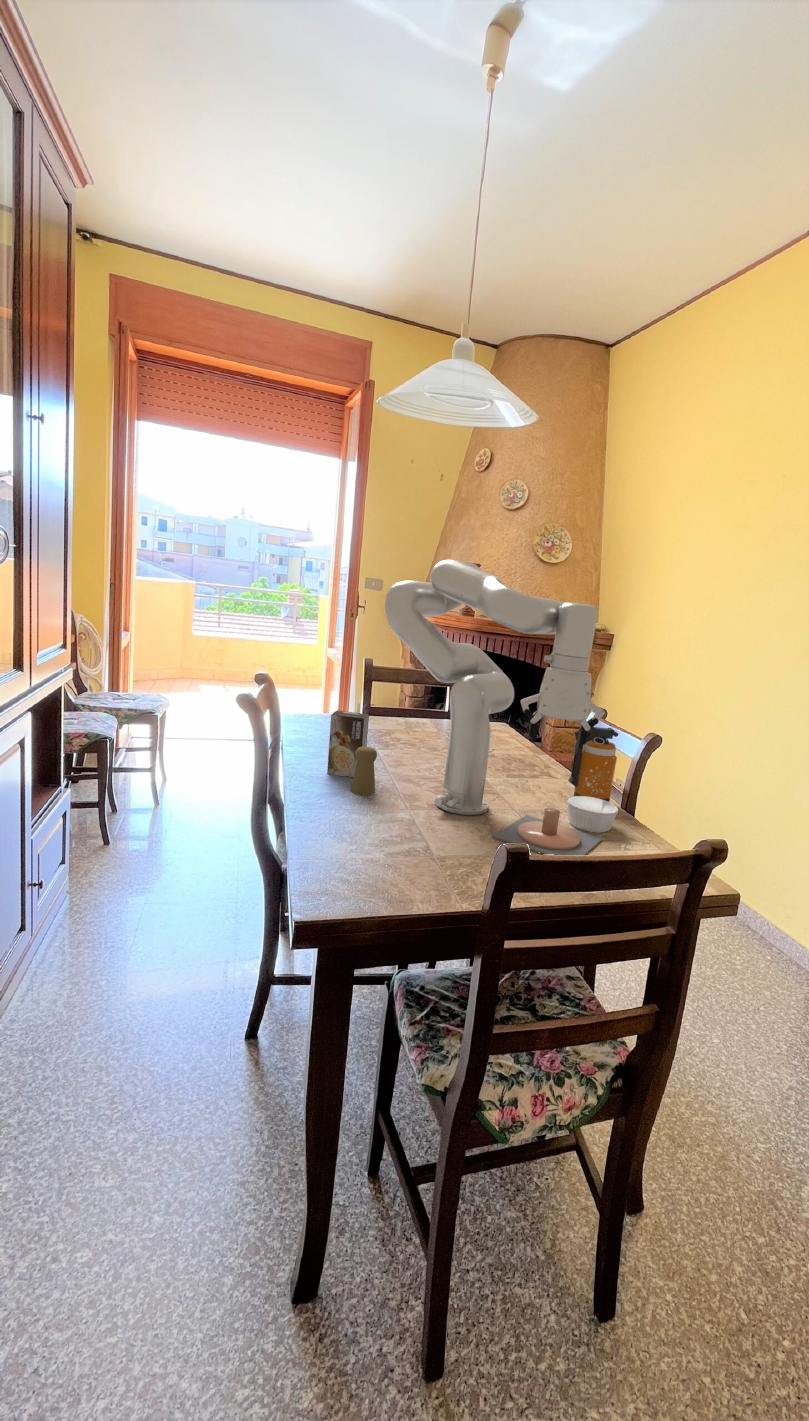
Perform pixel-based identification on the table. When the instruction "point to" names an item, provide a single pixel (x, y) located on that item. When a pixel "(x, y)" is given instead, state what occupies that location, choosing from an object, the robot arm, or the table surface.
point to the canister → (594, 764)
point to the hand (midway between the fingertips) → (555, 744)
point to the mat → (511, 836)
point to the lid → (549, 832)
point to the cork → (364, 771)
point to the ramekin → (591, 813)
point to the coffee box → (346, 741)
